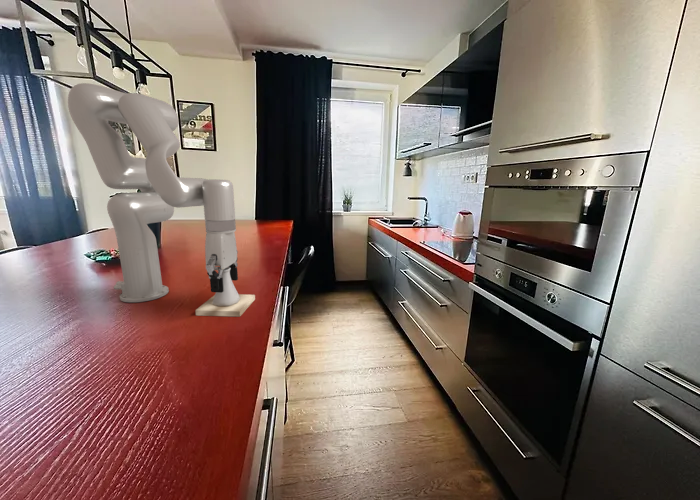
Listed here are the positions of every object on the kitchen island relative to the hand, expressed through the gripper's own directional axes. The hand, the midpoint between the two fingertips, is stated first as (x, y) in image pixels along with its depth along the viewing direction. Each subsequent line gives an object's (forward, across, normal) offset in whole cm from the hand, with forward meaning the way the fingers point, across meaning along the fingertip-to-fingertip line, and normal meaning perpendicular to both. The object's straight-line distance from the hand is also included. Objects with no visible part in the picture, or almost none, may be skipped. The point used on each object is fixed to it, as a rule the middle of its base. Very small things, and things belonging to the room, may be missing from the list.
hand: (225, 285), depth 83 cm
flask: (+5, 0, 0) cm, 5 cm away
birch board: (+6, 0, 0) cm, 6 cm away
